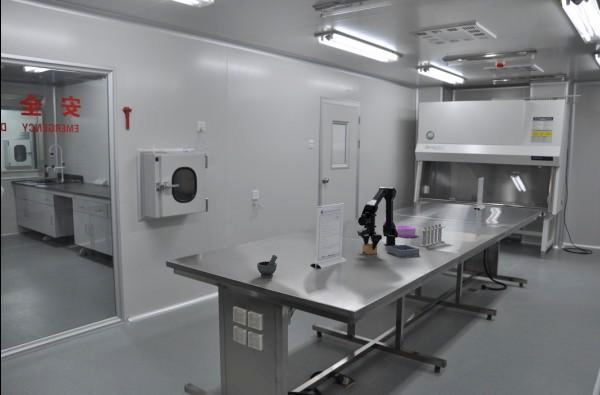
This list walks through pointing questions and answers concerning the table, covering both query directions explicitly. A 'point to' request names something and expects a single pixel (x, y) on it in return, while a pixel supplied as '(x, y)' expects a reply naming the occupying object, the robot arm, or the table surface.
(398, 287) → the table surface
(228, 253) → the table surface
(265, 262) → the mortar and pestle
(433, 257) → the table surface
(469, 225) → the table surface
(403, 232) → the container set
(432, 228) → the test tube rack
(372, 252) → the small crate
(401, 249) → the large crate
